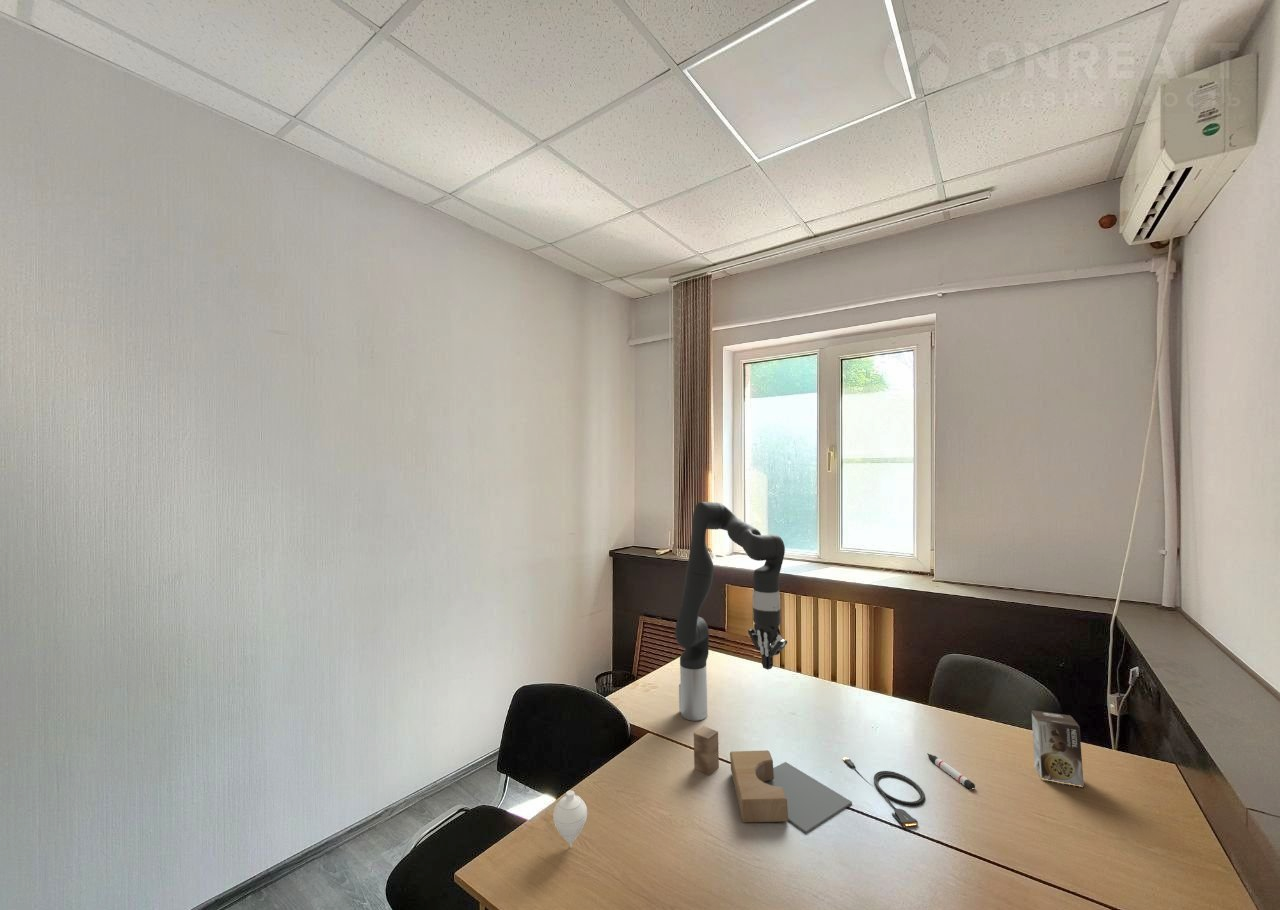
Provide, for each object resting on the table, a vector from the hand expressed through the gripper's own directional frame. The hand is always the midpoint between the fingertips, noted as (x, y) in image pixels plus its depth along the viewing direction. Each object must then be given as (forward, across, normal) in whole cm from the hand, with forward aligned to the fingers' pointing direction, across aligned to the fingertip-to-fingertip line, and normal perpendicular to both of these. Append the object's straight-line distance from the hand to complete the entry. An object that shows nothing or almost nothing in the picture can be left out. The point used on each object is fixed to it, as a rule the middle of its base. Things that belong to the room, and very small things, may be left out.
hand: (767, 668), depth 137 cm
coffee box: (+29, +45, +63) cm, 83 cm away
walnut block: (+29, -12, -12) cm, 34 cm away
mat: (+29, +10, -1) cm, 31 cm away
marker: (+29, +27, +42) cm, 58 cm away
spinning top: (+30, -6, -57) cm, 65 cm away
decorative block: (+26, -4, -4) cm, 26 cm away
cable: (+30, +23, +23) cm, 44 cm away
